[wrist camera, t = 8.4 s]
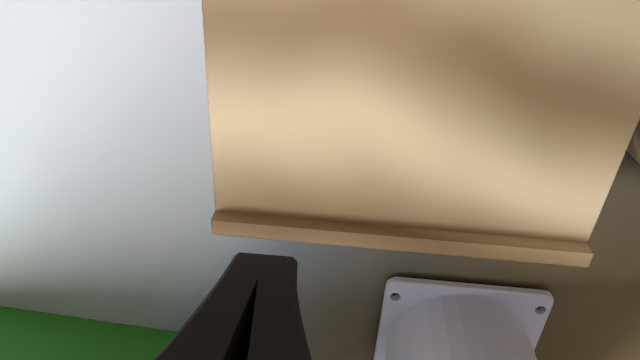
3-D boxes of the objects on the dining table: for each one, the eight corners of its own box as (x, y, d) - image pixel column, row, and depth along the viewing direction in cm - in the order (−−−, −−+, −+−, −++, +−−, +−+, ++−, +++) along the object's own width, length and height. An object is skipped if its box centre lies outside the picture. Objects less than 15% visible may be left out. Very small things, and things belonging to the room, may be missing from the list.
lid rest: (542, 189, 22) (587, 269, 18) (241, 164, 22) (212, 236, 18) (671, -190, 15) (796, -213, 11) (230, -216, 15) (177, -247, 11)
